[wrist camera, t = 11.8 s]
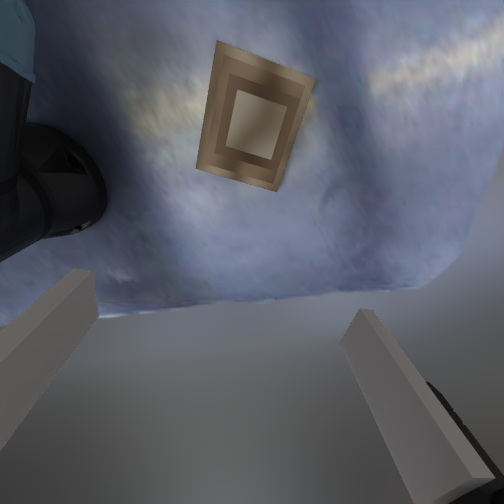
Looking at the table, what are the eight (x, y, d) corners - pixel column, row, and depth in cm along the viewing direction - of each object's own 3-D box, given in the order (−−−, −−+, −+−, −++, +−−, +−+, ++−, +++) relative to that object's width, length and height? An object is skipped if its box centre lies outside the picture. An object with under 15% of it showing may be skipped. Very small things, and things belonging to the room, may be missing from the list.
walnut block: (219, 147, 30) (214, 153, 24) (232, 85, 27) (229, 72, 21) (269, 163, 31) (276, 172, 25) (287, 105, 28) (300, 98, 22)
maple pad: (197, 166, 33) (195, 168, 31) (218, 45, 27) (216, 39, 25) (275, 188, 35) (277, 192, 33) (311, 81, 29) (316, 78, 27)
